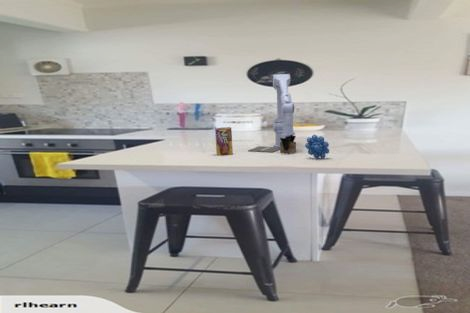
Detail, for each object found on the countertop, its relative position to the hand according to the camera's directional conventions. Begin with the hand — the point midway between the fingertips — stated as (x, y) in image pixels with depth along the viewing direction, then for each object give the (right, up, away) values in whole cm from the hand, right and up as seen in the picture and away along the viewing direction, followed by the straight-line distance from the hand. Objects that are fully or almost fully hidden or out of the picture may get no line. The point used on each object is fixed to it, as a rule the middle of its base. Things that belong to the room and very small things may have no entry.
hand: (288, 149), depth 185 cm
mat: (-11, 0, +12) cm, 17 cm away
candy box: (-36, -3, +3) cm, 36 cm away
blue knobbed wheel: (+11, -5, -20) cm, 24 cm away
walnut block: (0, -2, 0) cm, 2 cm away
